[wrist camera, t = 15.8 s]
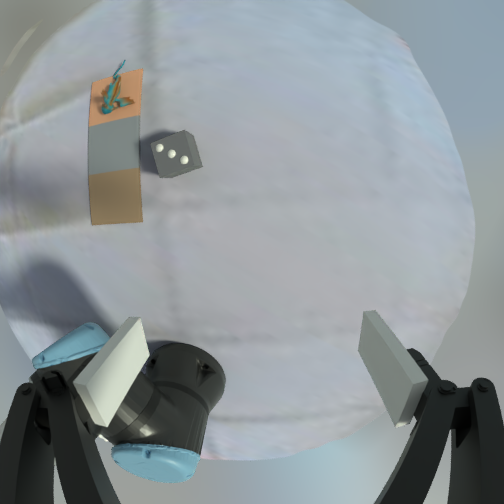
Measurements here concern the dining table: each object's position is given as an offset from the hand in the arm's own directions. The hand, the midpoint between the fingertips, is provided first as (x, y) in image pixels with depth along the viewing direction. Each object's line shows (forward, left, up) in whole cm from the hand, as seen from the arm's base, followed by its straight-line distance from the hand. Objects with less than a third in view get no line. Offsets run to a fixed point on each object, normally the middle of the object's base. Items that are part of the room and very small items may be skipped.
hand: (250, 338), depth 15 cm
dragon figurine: (+25, +22, -26) cm, 43 cm away
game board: (+16, +23, -26) cm, 38 cm away
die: (+13, +11, -27) cm, 31 cm away
